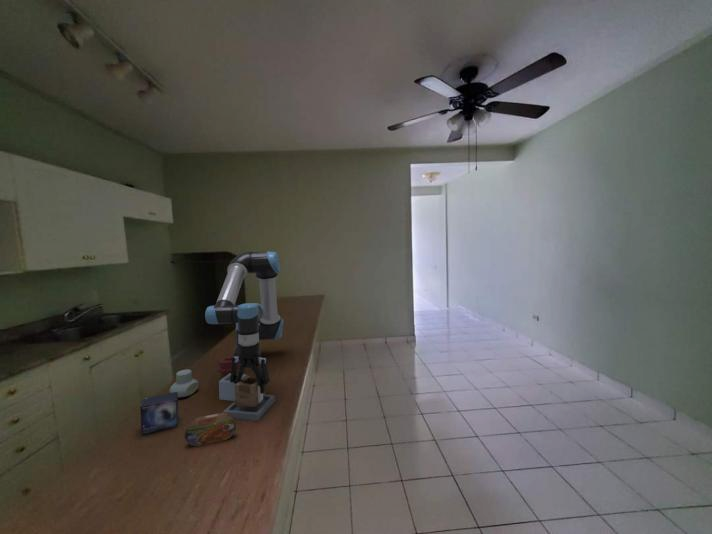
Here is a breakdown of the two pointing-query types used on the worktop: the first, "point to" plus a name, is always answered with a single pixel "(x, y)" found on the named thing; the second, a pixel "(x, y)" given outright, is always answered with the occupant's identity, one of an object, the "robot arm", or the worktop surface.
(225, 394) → the block
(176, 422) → the small box
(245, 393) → the brown open cube box
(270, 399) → the tray
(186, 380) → the air freshener
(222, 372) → the mechanical component
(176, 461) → the worktop surface
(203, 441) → the tin
